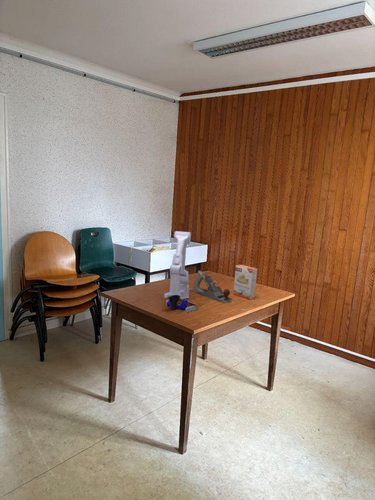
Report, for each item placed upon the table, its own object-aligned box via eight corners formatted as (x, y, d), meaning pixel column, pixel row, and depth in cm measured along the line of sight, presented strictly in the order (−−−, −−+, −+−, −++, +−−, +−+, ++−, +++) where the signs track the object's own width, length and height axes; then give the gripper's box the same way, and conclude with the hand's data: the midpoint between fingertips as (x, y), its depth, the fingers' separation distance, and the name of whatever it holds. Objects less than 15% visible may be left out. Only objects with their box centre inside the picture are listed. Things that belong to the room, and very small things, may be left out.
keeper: (176, 301, 230) (177, 297, 229) (197, 309, 218) (198, 304, 217) (166, 304, 223) (166, 299, 223) (186, 312, 211) (187, 307, 211)
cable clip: (166, 306, 220) (167, 296, 219) (171, 304, 224) (172, 295, 223) (182, 311, 213) (182, 301, 212) (187, 310, 216) (187, 300, 215)
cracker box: (232, 294, 254) (235, 265, 250) (238, 293, 258) (240, 264, 255) (249, 299, 244) (252, 269, 241) (254, 298, 248) (257, 268, 245)
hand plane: (224, 304, 233) (226, 281, 230) (188, 291, 257) (190, 270, 254) (233, 301, 239) (235, 279, 237) (197, 289, 263) (199, 268, 260)
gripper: (170, 288, 205) (169, 311, 208) (188, 284, 216) (187, 306, 218) (162, 285, 210) (160, 308, 212) (180, 282, 221) (178, 303, 223)
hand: (173, 307), depth 216 cm, fingers closed
